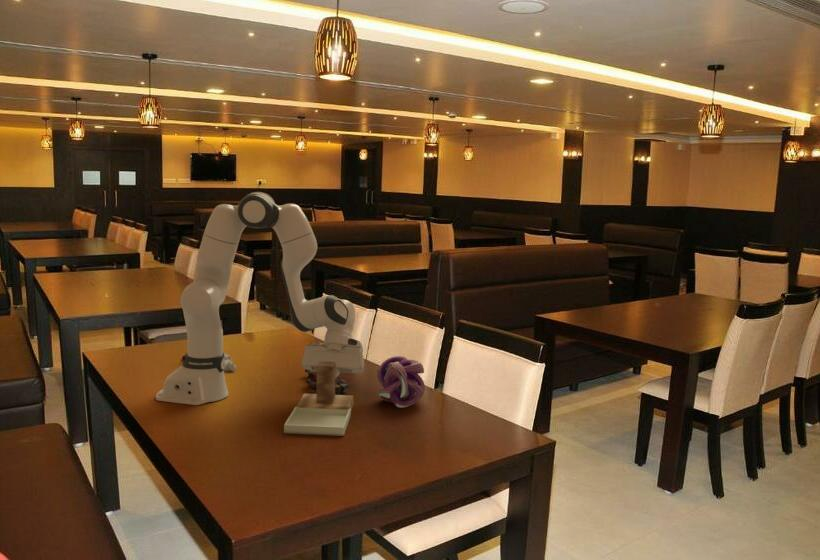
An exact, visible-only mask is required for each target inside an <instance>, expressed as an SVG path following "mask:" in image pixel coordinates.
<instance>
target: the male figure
mask: <svg viewBox="0 0 820 560" xmlns="http://www.w3.org/2000/svg"><path fill="white" fill-rule="evenodd" d="M224 357H225V369H224V372H235V371H236V370H237V369H236V368H237V365H235V363H233V361H232V358H231V355H230V354H227V353H226V352H224Z"/></svg>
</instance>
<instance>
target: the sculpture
mask: <svg viewBox="0 0 820 560" xmlns="http://www.w3.org/2000/svg"><path fill="white" fill-rule="evenodd" d="M424 373H425V368H424V365H423V364H422V363H421V362H419V361H418V360H415V359H408V358H407V357H405V356H403V355H394V356H391V357H388V358H387V359H386V360H384V361H382V363H381V364H380V365H379V367H378V369H377V372H376V376H377V381H379V382H378V383H379V384H380V385H381V386H382V388H377V395H378V397H379V398H380V399H381V400H383V401H385V402H387V403H393V404H394V406H395V407H397V408H400V409H401V408H402V409H404V408H408V407H410V406H412V405H415V404H416V403H418V402H419V401H420V400H421V399H422V398H423V396H424V394H425V392H426V385H425V381H424V380H423V378H422V376H421V375H420V374H424Z"/></svg>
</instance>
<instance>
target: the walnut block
mask: <svg viewBox="0 0 820 560" xmlns="http://www.w3.org/2000/svg"><path fill="white" fill-rule="evenodd" d="M335 364H336V362H324V361H320V362H319V363H318V365H317V371H316V372H317V391H316V394H317V395H316V403H323V404H333V402H334V399H335V395H336V394H335V379H336V378H335Z"/></svg>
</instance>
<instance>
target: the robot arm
mask: <svg viewBox="0 0 820 560" xmlns="http://www.w3.org/2000/svg"><path fill="white" fill-rule="evenodd" d="M247 227H248V228H251V229H269V228H271V229H273V230H274V232H275V234H276V235H277V238H278V240H279V242H280V246H281V248H282V249H281V250H282V259H281V260H280V261H281V262H280V271H281V276H282V281H283V284H284V288H285V293H286V296H287V300H288V305H289V306H288V307H289V314H290V319H291V323H292V325H293V327H295V328H296V329H297V330H299V331H300V332H302V333H306V332H310V331H312V330H315V329H319V328H323V327H325V328H326V332H325V335H324V340H323V343H314V342H310V343H309V344H307V345H305V346H304V350H303V351H304V353H303V356H302V359H301V366H302V368H303V369H304V371H305V370H310V371H316V370H317V365H318V363H319V362H320V361H324V362H336V364H335V379H337V377H338V376H340V373H350V374H351V373H352V374H361V373H363V371H364V367H365V358H364V354H363V353H364V348H363V345H362V342H361V341H360V340H358V339H355V338H353V337H352V332H353V331H354V328H355V323H356V321H355V320H356V309H355V305H354V304H353V303H352V302H351V301H349V300H347V299H340V298H338V296H336V295H332V294H328V295H324V296H321V297H317V298H314V299H310V300H309V299H306V298H305V294H304V289H303V286H302V281H301V272H302V271H303V269H304V268H305V267H306V266H307V265H308V264H309V263H310V262H311V261H312V260H313V259H314V257H315V256H316V255H317V252H318V242H317V238H316V236H315V233H314V231H313V228H312V226H311V223H310V222H309V220H308V217H307V215H305V212H304V211H303V209H302V207H300V206H299V205H298V204H296V203H285V204H282V205H278V204H277V203H276V201H275V199H274V198H273V197H272V196H271V195H270V194H269V193H266V192H262V191H254V192H250V193H249V194H246V195H245V196H243V198H242V199H240V201H239V203H238V204H237V205H233V204H228V203H221V204H218V205H216V206H215V207H214V209H213V211H212V212H211V214H210V216H209V218H208V221H207V223H206V226H205V229H204V232H203V235H202V238H201V242H200V245H199V250H198V252H197V257H196V269H195V270H196V271H195V275H194V279H193V281H192V283H190V284H188V285H187V286H186V287H185V288H184V289H183V291H182V292H181V295H180V300H179V301H180V302H179V303H180V307H181V309H182V311H183V317H184V322H185V327H186V340H187V341H186V342H187V343H186V344H187V350H186V351H187V352H185V353H184V355H182V356H181V357H180V358H179V360H180V361H179V363H182V365H180V366H179V367H178V368H176V369H175V370H173V372H171V373H170V374H169V375H167V377H166V378H165V381H164V383H163V388H162V389H160V390H159V391H158V392H157V393H156V395H155V400H156V401H158V402H159V401H160V402H165V403H166V402H168V403H174V404H182V405H184V404H185V405H189V406H199V405H203V404H206V403H210V402H218V401H220V400H223V399H225V398H227V397H228V396H229V390H228V387H227V384H226V377H225V371H224V369H225V357H224V353H225V352H224V330H223V327H222V323H221V318H220V306H221V305H222V304H223V303H224V301H225V300H226V296H227V293H228V289H229V283H230V278H231V273H232V267H233V264H234V260H235V257H236V253H237V250H238V246H239V243H240V240H241V237H242V233H243V232H244V230H245V229H246V228H247Z"/></svg>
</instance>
